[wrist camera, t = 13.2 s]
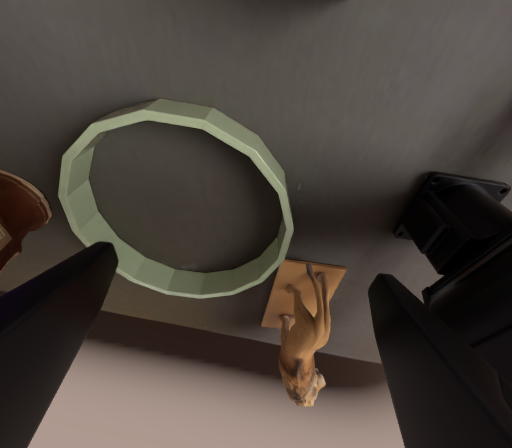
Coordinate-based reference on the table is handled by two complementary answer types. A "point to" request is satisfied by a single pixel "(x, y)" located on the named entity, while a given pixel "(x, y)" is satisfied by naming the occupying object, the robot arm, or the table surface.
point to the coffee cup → (19, 214)
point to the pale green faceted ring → (131, 261)
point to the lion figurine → (304, 342)
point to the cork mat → (298, 277)
